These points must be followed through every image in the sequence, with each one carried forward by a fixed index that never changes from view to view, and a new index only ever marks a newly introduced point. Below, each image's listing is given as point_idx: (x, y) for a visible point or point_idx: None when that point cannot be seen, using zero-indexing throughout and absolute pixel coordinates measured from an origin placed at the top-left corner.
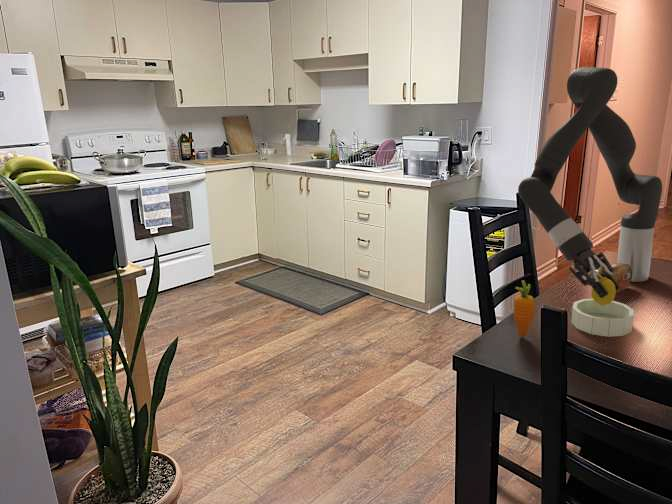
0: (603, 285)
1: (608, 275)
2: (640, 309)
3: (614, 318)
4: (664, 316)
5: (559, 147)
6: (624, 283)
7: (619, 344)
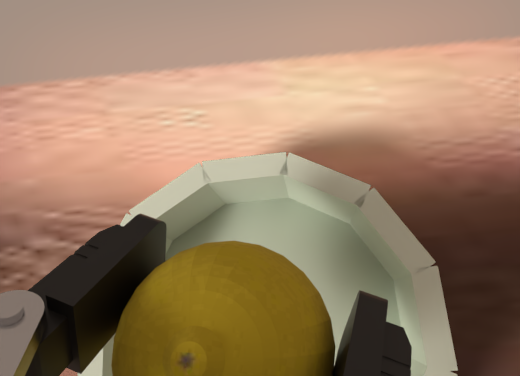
0: (311, 353)
1: (50, 330)
2: (5, 178)
3: (392, 241)
4: (59, 87)
5: None
6: None
7: (473, 214)
